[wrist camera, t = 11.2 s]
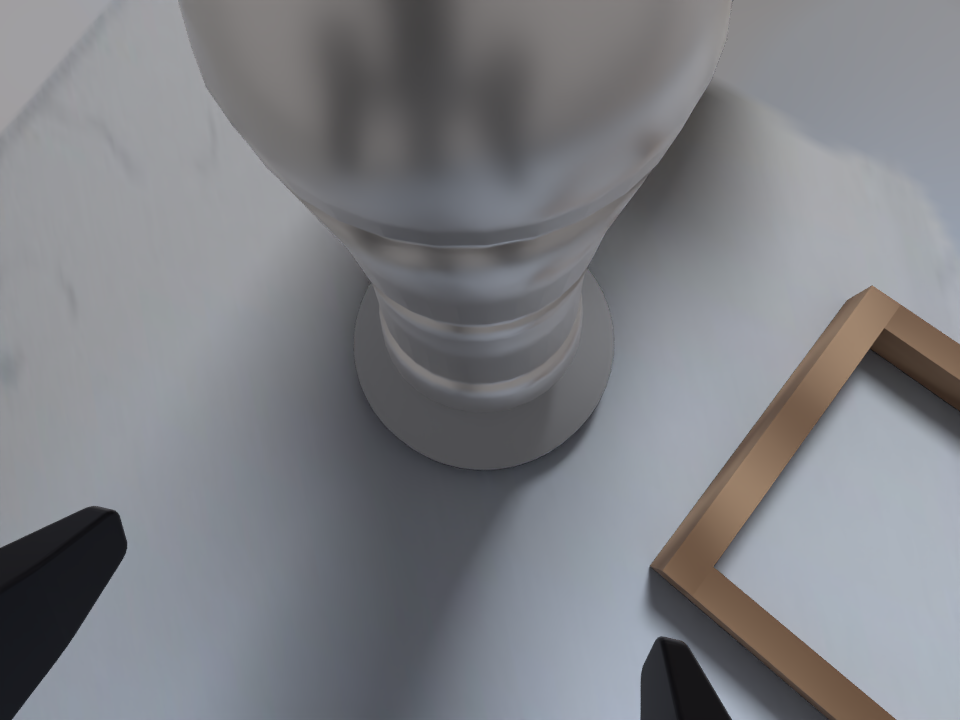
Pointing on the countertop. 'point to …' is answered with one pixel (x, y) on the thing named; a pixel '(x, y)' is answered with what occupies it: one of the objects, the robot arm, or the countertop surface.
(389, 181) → the plastic bottle
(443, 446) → the slate coaster
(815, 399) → the walnut collar
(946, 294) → the countertop surface
